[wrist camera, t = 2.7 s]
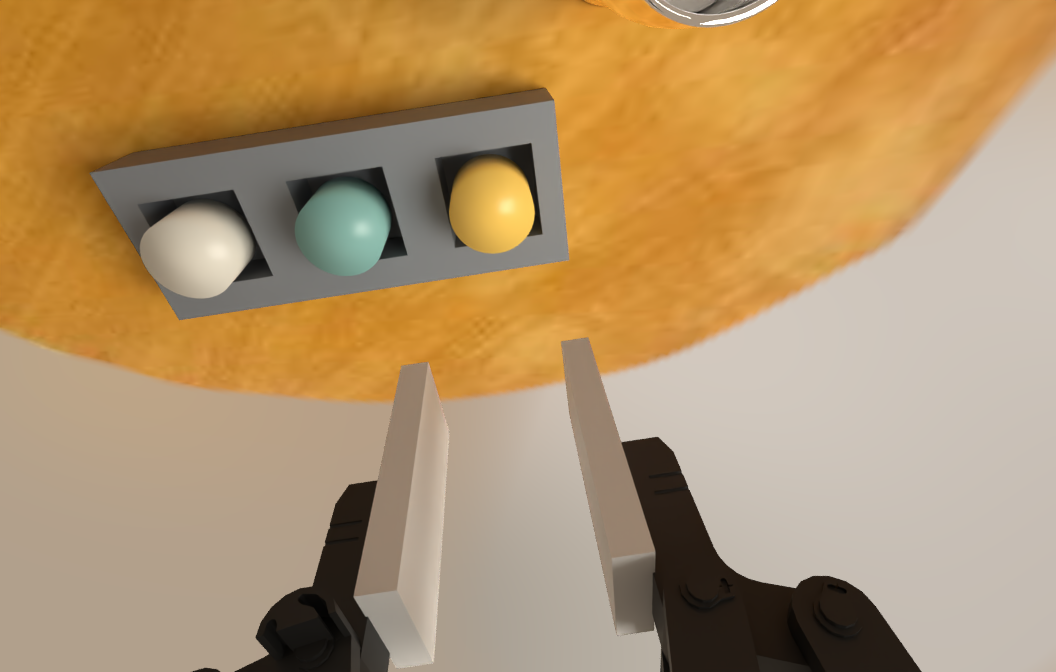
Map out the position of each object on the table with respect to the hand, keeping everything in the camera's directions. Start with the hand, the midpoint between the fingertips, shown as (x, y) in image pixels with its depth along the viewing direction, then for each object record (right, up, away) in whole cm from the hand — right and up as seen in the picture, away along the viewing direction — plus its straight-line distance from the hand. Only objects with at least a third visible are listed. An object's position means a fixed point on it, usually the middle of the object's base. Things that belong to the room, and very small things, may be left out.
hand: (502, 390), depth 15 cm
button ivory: (-17, +7, +15) cm, 24 cm away
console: (-10, +10, +17) cm, 22 cm away
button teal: (-9, +9, +14) cm, 19 cm away
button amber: (-1, +10, +14) cm, 17 cm away
